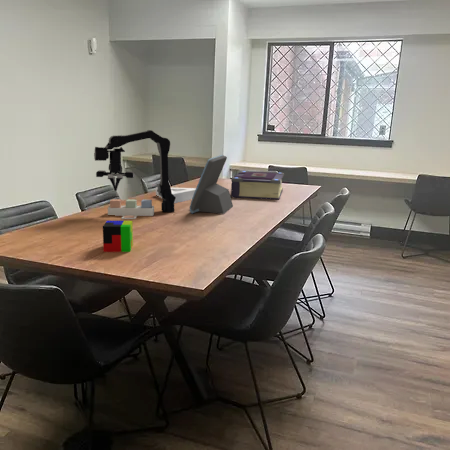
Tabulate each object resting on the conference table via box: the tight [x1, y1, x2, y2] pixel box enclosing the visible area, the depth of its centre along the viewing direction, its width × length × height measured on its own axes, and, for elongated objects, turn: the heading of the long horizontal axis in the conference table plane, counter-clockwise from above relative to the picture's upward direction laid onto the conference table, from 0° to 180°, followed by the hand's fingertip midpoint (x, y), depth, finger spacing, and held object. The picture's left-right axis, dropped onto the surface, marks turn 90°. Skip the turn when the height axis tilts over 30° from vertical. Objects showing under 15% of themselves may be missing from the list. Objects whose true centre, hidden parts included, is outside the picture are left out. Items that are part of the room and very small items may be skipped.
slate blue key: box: [140, 199, 153, 208], centre depth 246 cm, size 5×5×5 cm
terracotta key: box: [109, 198, 122, 208], centre depth 245 cm, size 5×5×5 cm
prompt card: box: [121, 216, 138, 220], centre depth 238 cm, size 7×6×1 cm
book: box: [230, 170, 285, 201], centre depth 323 cm, size 33×45×14 cm
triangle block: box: [155, 186, 196, 204], centre depth 298 cm, size 30×26×6 cm
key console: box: [107, 204, 155, 217], centre depth 246 cm, size 23×7×4 cm, turn 94°
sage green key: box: [125, 198, 138, 208], centre depth 245 cm, size 5×5×5 cm
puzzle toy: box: [102, 220, 134, 253], centre depth 182 cm, size 10×10×10 cm
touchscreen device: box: [189, 154, 234, 215], centre depth 263 cm, size 35×20×30 cm, turn 167°
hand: (115, 190), depth 243 cm, fingers closed
